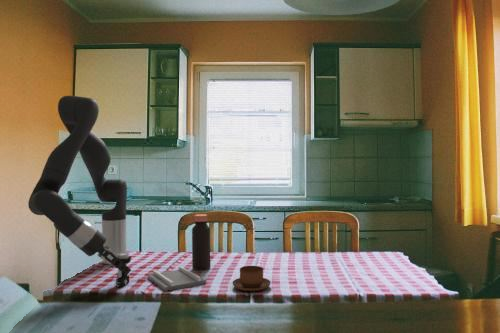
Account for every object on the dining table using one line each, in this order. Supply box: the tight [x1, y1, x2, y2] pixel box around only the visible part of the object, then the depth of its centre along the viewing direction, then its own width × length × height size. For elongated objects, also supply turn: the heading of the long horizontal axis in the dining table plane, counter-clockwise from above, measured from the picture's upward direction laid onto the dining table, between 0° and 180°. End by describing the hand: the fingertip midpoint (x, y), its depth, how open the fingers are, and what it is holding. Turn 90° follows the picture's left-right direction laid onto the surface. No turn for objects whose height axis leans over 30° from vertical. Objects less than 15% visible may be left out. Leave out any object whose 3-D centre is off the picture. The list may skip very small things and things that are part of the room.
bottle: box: [191, 213, 211, 271], centre depth 148 cm, size 7×7×20 cm
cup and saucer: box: [232, 265, 271, 292], centre depth 124 cm, size 12×12×6 cm
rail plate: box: [147, 265, 207, 292], centre depth 132 cm, size 17×14×2 cm
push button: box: [114, 252, 132, 288], centre depth 127 cm, size 7×5×10 cm
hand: (126, 270), depth 128 cm, fingers closed on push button, 4 cm apart
